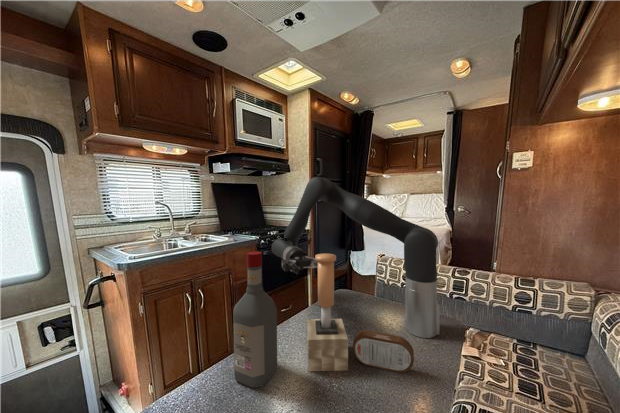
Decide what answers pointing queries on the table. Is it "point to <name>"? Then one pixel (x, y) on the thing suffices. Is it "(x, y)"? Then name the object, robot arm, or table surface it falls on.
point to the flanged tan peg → (325, 287)
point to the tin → (383, 351)
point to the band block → (327, 346)
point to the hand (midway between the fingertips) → (310, 269)
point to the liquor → (255, 330)
